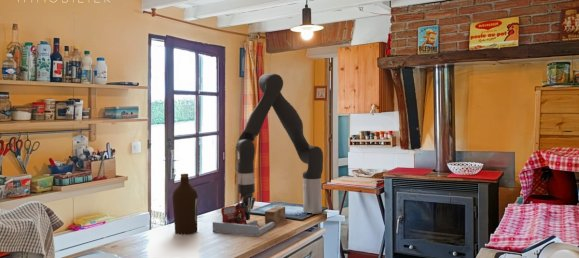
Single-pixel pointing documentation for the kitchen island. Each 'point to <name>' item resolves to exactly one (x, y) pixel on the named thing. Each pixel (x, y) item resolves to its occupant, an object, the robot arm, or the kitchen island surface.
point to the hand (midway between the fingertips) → (247, 219)
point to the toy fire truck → (233, 215)
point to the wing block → (275, 214)
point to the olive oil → (185, 207)
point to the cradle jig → (242, 228)
